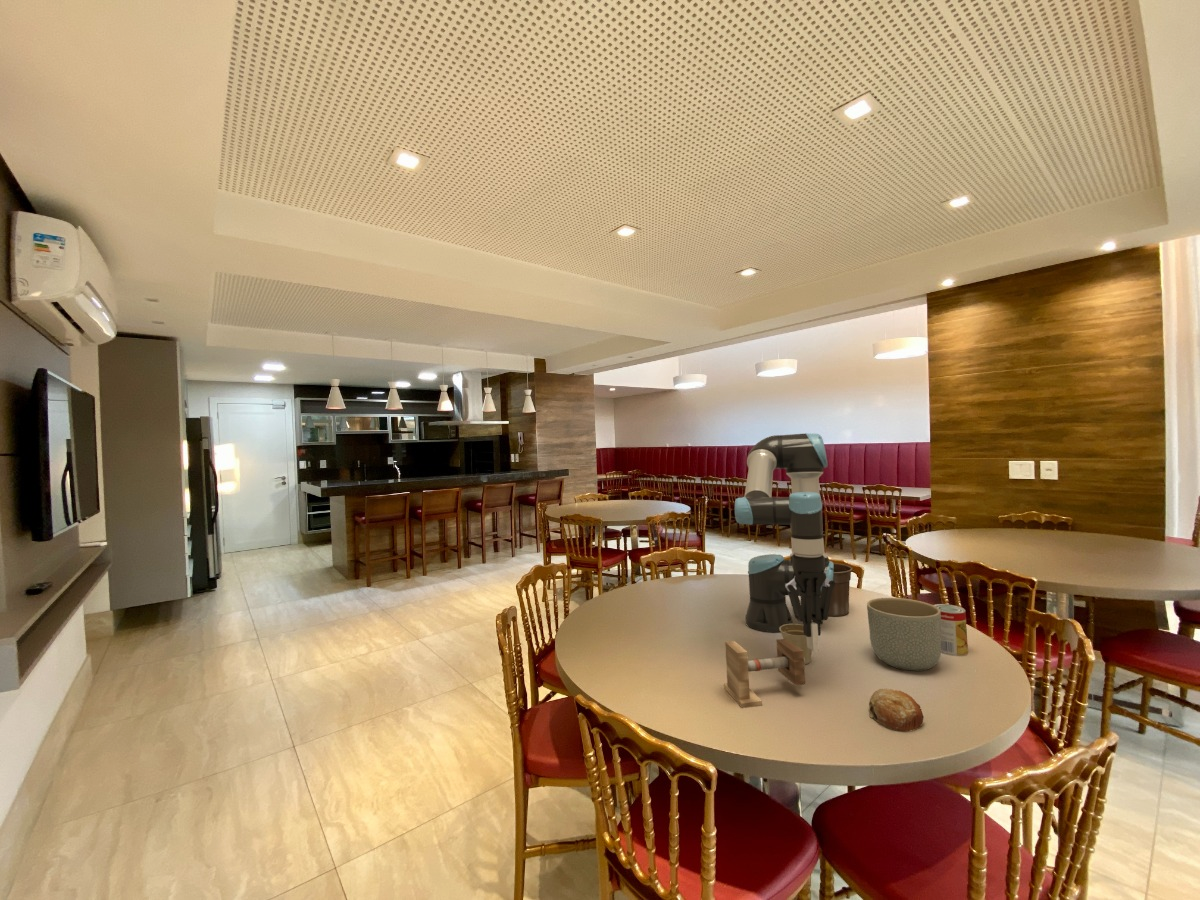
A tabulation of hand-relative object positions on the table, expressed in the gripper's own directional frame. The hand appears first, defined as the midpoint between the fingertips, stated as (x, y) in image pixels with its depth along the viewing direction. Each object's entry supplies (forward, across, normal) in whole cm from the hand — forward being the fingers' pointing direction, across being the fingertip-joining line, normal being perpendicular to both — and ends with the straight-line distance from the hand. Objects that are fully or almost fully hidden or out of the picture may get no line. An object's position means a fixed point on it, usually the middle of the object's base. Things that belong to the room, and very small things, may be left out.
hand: (813, 648), depth 119 cm
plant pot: (+10, -38, -50) cm, 63 cm away
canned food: (+10, -49, -10) cm, 51 cm away
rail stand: (+9, +12, 0) cm, 15 cm away
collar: (+6, +6, 0) cm, 9 cm away
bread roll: (+10, -8, +17) cm, 21 cm away
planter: (+10, -31, -6) cm, 33 cm away
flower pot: (+10, -5, -15) cm, 18 cm away
